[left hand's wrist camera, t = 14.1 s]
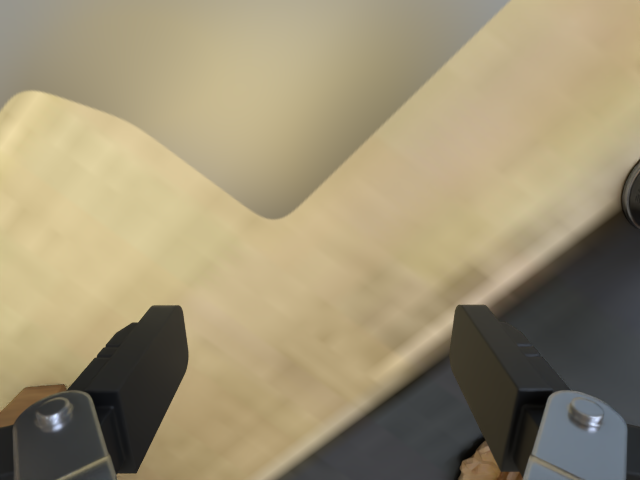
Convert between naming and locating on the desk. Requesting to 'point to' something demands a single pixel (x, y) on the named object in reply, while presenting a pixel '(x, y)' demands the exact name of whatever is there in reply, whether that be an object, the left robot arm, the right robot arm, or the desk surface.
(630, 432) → the left robot arm
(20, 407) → the bar
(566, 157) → the desk surface
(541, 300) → the desk surface
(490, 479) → the sculpture
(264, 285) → the desk surface
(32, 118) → the desk surface
